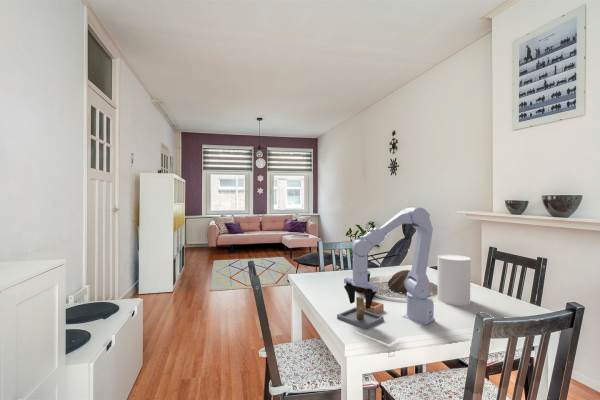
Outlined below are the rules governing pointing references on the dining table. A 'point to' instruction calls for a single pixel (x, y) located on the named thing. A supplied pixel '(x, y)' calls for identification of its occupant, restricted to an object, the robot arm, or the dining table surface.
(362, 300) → the oak peg
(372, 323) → the slate tray
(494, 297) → the dining table surface
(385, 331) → the dining table surface
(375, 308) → the terracotta square socket
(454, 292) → the canister
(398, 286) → the decorative dome
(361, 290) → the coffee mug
